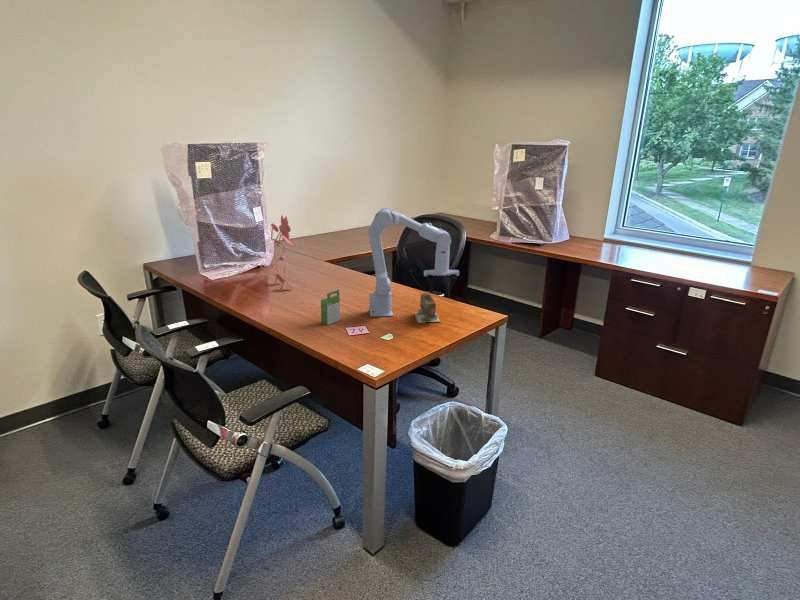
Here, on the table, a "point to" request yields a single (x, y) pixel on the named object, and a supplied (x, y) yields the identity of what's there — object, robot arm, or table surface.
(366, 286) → the table surface
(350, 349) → the table surface
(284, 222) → the figurine
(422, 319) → the rail stand
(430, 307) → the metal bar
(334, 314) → the ink box
